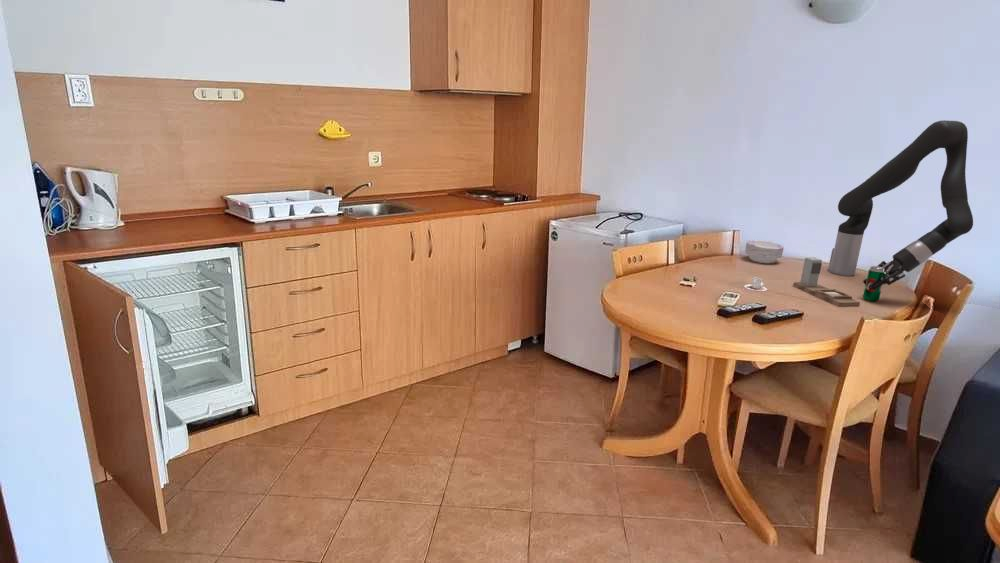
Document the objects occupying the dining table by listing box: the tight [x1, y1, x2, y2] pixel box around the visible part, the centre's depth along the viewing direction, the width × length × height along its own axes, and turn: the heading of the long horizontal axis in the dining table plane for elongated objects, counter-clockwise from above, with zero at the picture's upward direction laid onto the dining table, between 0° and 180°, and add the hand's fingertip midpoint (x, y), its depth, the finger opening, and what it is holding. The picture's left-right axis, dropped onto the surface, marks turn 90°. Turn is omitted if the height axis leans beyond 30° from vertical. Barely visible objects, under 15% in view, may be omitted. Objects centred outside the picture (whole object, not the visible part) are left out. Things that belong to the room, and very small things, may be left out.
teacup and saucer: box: [743, 277, 768, 292], centre depth 222 cm, size 9×8×4 cm
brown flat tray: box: [792, 281, 861, 308], centre depth 216 cm, size 24×8×2 cm, turn 11°
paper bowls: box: [744, 239, 784, 264], centre depth 263 cm, size 15×15×8 cm
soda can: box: [862, 265, 885, 303], centre depth 212 cm, size 5×5×12 cm
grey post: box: [799, 256, 823, 286], centre depth 223 cm, size 5×4×10 cm
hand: (868, 285), depth 212 cm, fingers closed on soda can, 5 cm apart
